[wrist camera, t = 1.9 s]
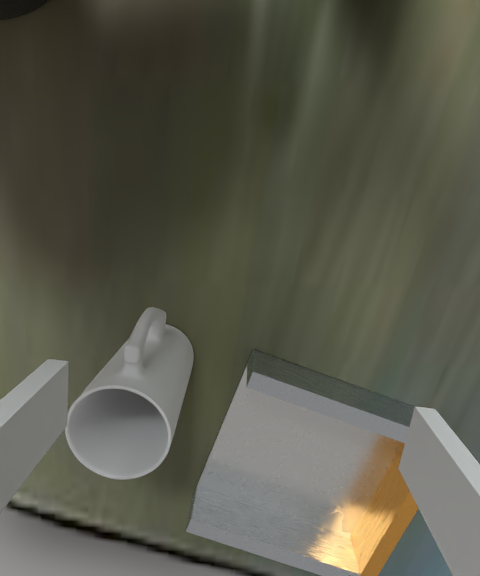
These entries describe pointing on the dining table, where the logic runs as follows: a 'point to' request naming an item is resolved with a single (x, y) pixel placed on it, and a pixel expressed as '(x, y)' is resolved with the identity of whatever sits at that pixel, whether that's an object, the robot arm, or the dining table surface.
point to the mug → (133, 402)
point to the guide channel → (306, 472)
